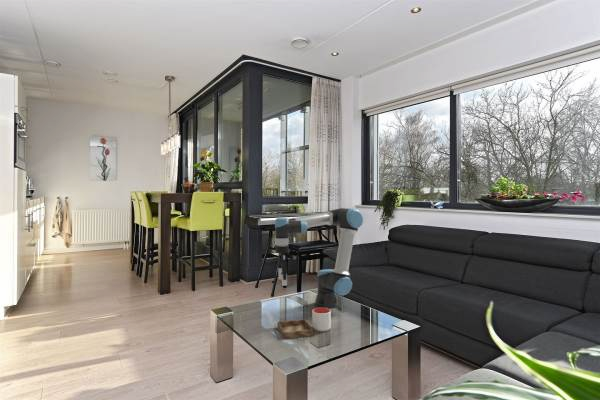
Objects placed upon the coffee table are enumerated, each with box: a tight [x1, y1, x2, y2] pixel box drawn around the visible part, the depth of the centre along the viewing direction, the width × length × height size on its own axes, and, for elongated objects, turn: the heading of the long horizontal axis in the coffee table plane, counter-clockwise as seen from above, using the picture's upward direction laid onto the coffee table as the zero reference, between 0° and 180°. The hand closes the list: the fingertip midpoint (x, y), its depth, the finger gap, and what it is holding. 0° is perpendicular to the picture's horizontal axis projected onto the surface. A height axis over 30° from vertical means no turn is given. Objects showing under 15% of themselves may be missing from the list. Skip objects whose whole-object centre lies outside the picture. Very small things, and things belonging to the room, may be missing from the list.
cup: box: [311, 307, 332, 332], centre depth 194 cm, size 10×10×10 cm
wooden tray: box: [277, 318, 314, 340], centre depth 190 cm, size 16×16×3 cm
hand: (282, 282), depth 202 cm, fingers open, 13 cm apart
